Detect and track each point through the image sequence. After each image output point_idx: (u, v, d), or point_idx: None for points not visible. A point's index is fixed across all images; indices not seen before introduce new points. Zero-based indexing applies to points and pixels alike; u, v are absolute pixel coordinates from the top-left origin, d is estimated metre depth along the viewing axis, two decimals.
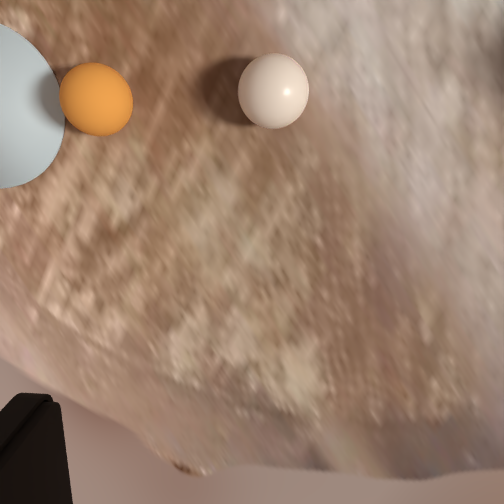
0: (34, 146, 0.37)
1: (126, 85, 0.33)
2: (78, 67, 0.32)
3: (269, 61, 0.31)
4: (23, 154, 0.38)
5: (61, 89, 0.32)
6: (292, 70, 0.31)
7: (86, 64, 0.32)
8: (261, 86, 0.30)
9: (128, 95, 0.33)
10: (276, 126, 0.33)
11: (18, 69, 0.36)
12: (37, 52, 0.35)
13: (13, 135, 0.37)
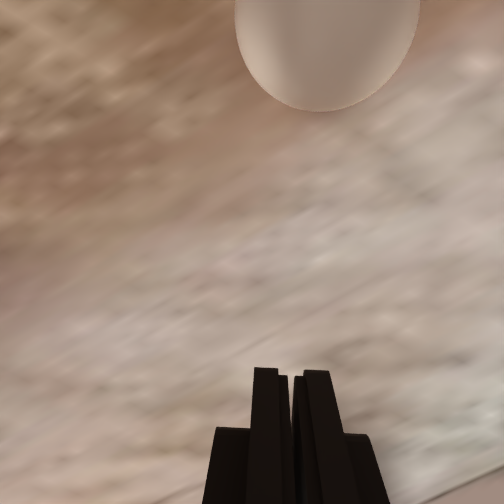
0: None
1: None
2: None
3: None
4: None
5: None
6: (375, 60, 0.11)
7: None
8: None
9: None
10: (237, 16, 0.12)
11: None
12: None
13: None
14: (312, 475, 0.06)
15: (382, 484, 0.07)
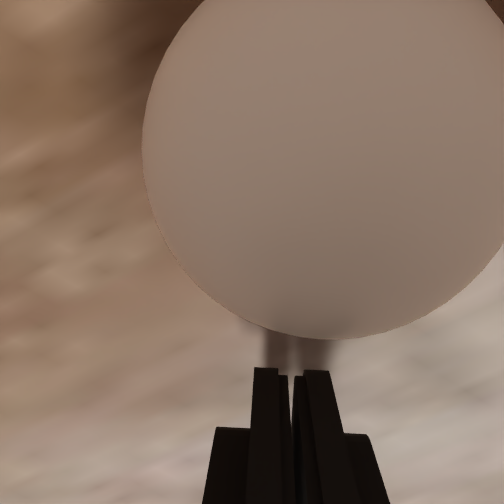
0: None
1: None
2: None
3: None
4: None
5: None
6: (437, 300, 0.05)
7: None
8: (395, 90, 0.04)
9: None
10: (143, 166, 0.06)
11: None
12: None
13: None
14: (312, 475, 0.06)
15: (382, 484, 0.07)
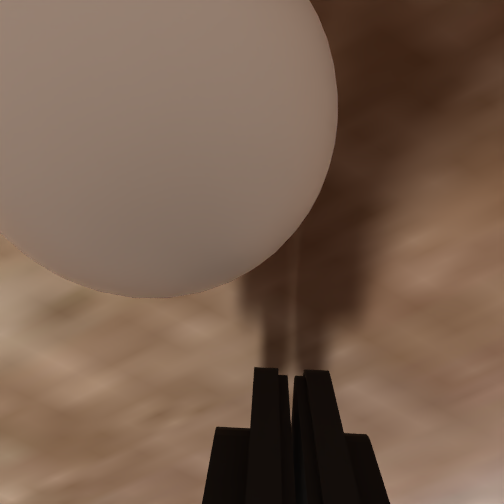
0: None
1: None
2: None
3: None
4: None
5: None
6: None
7: None
8: None
9: None
10: None
11: None
12: None
13: None
14: (312, 475, 0.06)
15: (382, 484, 0.07)
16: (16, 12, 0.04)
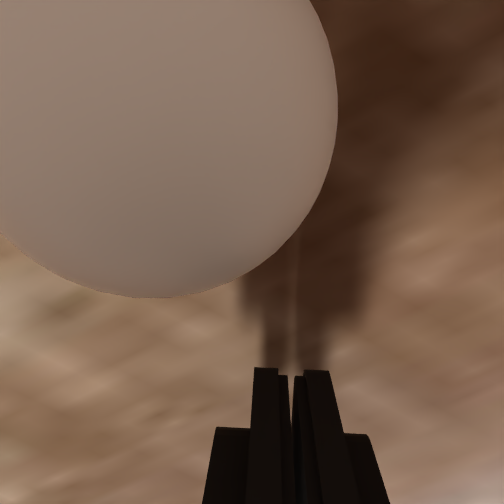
0: None
1: None
2: None
3: None
4: None
5: None
6: None
7: None
8: None
9: None
10: None
11: None
12: None
13: None
14: (312, 475, 0.06)
15: (382, 484, 0.07)
16: (16, 12, 0.04)
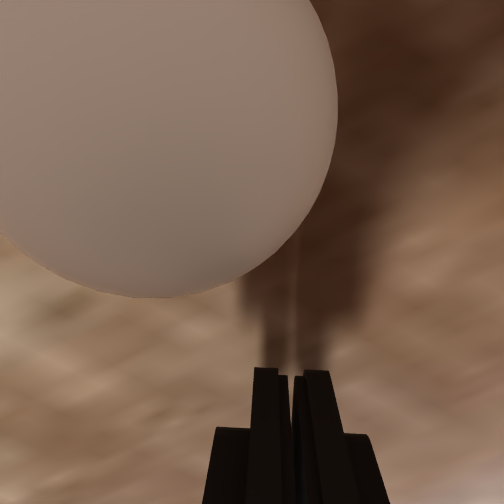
0: None
1: None
2: None
3: None
4: None
5: None
6: None
7: None
8: None
9: None
10: None
11: None
12: None
13: None
14: (312, 475, 0.06)
15: (382, 484, 0.07)
16: (16, 12, 0.04)
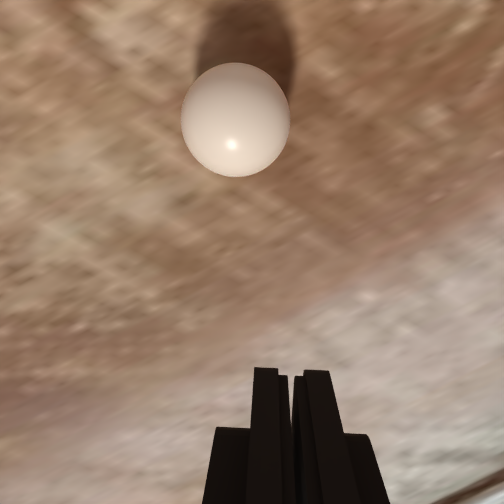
0: None
1: None
2: None
3: None
4: None
5: None
6: None
7: None
8: None
9: None
10: None
11: None
12: None
13: None
14: (312, 475, 0.06)
15: (382, 484, 0.07)
16: (218, 99, 0.19)
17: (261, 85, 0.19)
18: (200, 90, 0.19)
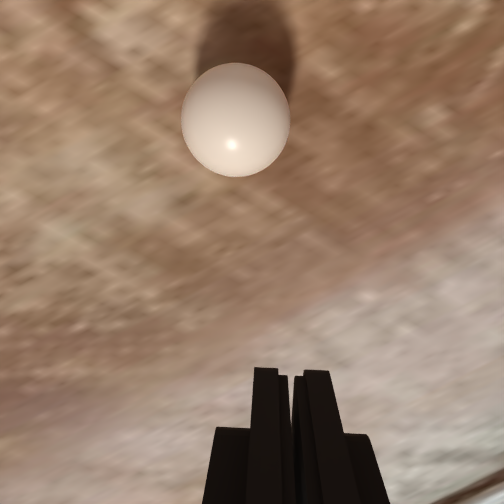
0: None
1: None
2: None
3: None
4: None
5: None
6: None
7: None
8: None
9: None
10: None
11: None
12: None
13: None
14: (312, 475, 0.06)
15: (382, 484, 0.07)
16: (218, 100, 0.19)
17: (261, 84, 0.19)
18: (200, 90, 0.19)
